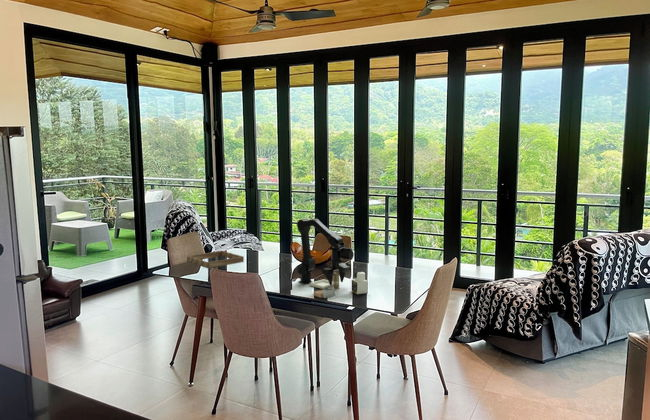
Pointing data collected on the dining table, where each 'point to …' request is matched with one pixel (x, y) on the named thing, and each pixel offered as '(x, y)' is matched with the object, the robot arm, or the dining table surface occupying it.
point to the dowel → (336, 280)
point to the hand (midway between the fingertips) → (336, 283)
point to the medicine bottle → (359, 283)
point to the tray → (322, 284)
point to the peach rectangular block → (318, 293)
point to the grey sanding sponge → (328, 292)
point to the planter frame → (198, 261)
